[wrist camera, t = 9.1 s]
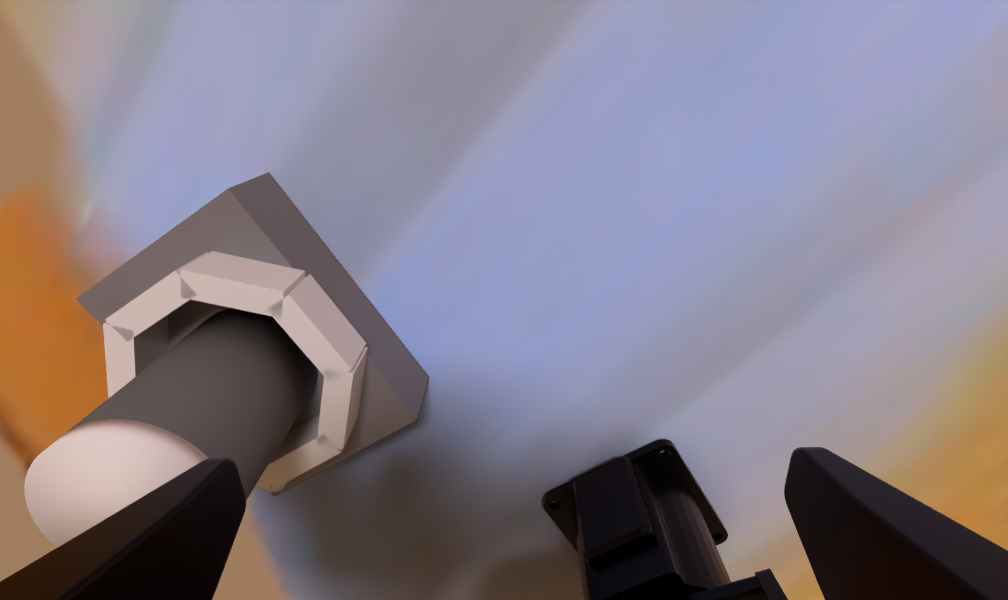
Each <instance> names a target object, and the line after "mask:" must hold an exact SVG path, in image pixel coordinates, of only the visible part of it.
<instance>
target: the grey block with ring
mask: <svg viewBox="0 0 1008 600" xmlns="http://www.w3.org/2000/svg"><path fill="white" fill-rule="evenodd" d="M76 300H77V301H78V302H79V303H80V304H81V305H83V306H84V307H85V308H86V309H87V310H88V311H89V312H90V313H91V314H92V315H93V316H94V317H95V318H96V319H97V320H98V321H99V322H100V323H101V324H102V325H103V330H104V343H105V357H106V370H107V384H108V398H110V397H111V396H112V395H114V394H115V393H116V392H117V391H119V390H120V389H121V388H122V387H124V386H125V385H126V384H127V383H129V382H130V381H131V380H132V379H133V378H135V377H136V376H137V375H138V374H140V373H141V372H142V371H143V370H145V369H146V368H147V367H148V366H150V365H151V364H152V363H153V362H154V361H156V360H157V359H158V358H159V357H161V356H162V355H163V354H164V353H166V352H167V351H168V350H169V349H171V348H172V347H173V346H174V345H176V344H177V343H178V342H179V341H180V340H182V339H183V338H184V337H185V336H187V335H188V334H189V333H190V332H192V331H193V330H194V329H195V328H197V327H198V326H199V325H200V324H201V323H203V322H204V321H205V320H206V319H208V318H209V317H210V316H212V315H214V314H215V313H217V312H220V311H222V310H226V309H230V308H234V309H239V310H244V311H249V312H253V313H258V314H263V315H268V316H272V317H273V318H274V319H275V320H276V321H277V322H278V324H279V325H280V326H281V327H282V328H283V329H284V330H285V332H286V333H287V334H288V335H289V336H290V337H291V339H292V340H293V341H294V342H295V343H296V344H297V345H298V347H299V348H300V349H301V350H302V351H303V352H304V354H305V355H306V356H307V357H308V358H309V359H310V360H311V362H312V363H313V364H314V365H315V366H316V367H317V368H318V377H317V382H316V385H315V388H314V390H313V392H312V394H311V396H310V397H309V399H308V401H307V402H306V404H305V406H304V407H303V409H302V410H301V412H300V414H299V415H298V417H297V419H296V420H295V422H294V423H293V425H292V427H291V428H290V430H289V432H288V433H287V435H286V436H285V438H284V440H283V441H282V443H281V445H280V446H279V448H278V449H277V451H276V453H275V454H274V456H273V458H272V459H271V461H270V462H269V464H268V466H267V467H266V469H265V471H264V472H263V474H262V475H261V477H260V479H259V480H258V482H257V484H256V485H255V487H259V488H261V489H263V490H265V491H269V492H271V493H272V494H273V495H274V496H276V495H278V494H280V493H282V492H283V491H285V490H287V489H289V488H291V487H293V486H295V485H296V484H298V483H300V482H302V481H304V480H306V479H308V478H309V477H311V476H313V475H315V474H317V473H319V472H321V471H323V470H324V469H326V468H328V467H330V466H332V465H334V464H336V463H337V462H339V461H341V460H343V459H345V458H347V457H349V456H350V455H352V454H354V453H356V452H358V451H360V450H362V449H363V448H365V447H367V446H369V445H371V444H373V443H375V442H377V441H378V440H380V439H382V438H384V437H386V436H388V435H390V434H391V433H393V432H395V431H397V430H399V429H401V428H403V427H404V426H406V425H408V424H410V423H412V422H414V421H416V420H417V419H418V415H419V412H420V408H421V405H422V401H423V397H424V394H425V390H426V387H427V383H428V380H429V376H428V375H427V374H426V372H425V371H424V370H423V369H422V367H421V366H420V365H419V363H418V362H417V361H416V360H415V358H414V357H413V356H412V355H411V353H410V352H409V351H408V349H407V348H406V347H405V346H404V344H403V343H402V342H401V340H400V339H399V338H398V337H397V335H396V334H395V333H394V332H393V330H392V329H391V328H390V326H389V325H388V324H387V323H386V321H385V320H384V319H383V317H382V316H381V315H380V314H379V312H378V311H377V310H376V309H375V307H374V306H373V305H372V303H371V302H370V301H369V300H368V298H367V297H366V296H365V294H364V293H363V292H362V291H361V289H360V288H359V287H358V286H357V284H356V283H355V282H354V280H353V279H352V278H351V277H350V275H349V274H348V273H347V271H346V270H345V269H344V268H343V266H342V265H341V264H340V263H339V261H338V260H337V259H336V257H335V256H334V255H333V254H332V252H331V251H330V250H329V248H328V247H327V246H326V245H325V243H324V242H323V241H322V240H321V238H320V237H319V236H318V234H317V233H316V232H315V231H314V229H313V228H312V227H311V225H310V224H309V223H308V222H307V220H306V219H305V218H304V217H303V215H302V214H301V213H300V211H299V210H298V209H297V208H296V206H295V205H294V204H293V202H292V201H291V200H290V199H289V197H288V196H287V195H286V194H285V192H284V191H283V190H282V188H281V187H280V186H279V185H278V183H277V182H276V181H275V179H274V178H273V177H272V176H271V174H270V173H269V172H268V173H266V174H264V175H261V176H259V177H256V178H254V179H251V180H249V181H246V182H244V183H241V184H239V185H236V186H234V187H231V188H229V189H227V190H225V191H224V192H223V193H221V194H220V195H219V196H217V197H216V198H214V199H213V200H212V201H210V202H209V203H208V204H206V205H205V206H203V207H202V208H201V209H199V210H198V211H196V212H195V213H194V214H192V215H191V216H190V217H188V218H187V219H185V220H184V221H183V222H181V223H180V224H179V225H177V226H176V227H174V228H173V229H172V230H170V231H169V232H168V233H166V234H165V235H163V236H162V237H161V238H159V239H158V240H156V241H155V242H154V243H152V244H151V245H150V246H148V247H147V248H145V249H144V250H143V251H141V252H140V253H139V254H137V255H136V256H134V257H133V258H132V259H130V260H129V261H127V262H126V263H125V264H123V265H122V266H121V267H119V268H118V269H116V270H115V271H114V272H112V273H111V274H110V275H108V276H107V277H105V278H104V279H103V280H101V281H100V282H98V283H97V284H96V285H94V286H93V287H92V288H90V289H89V290H87V291H86V292H85V293H83V294H82V295H81V296H79V297H78V298H76Z"/></svg>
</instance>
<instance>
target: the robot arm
mask: <svg viewBox="0 0 1008 600" xmlns="http://www.w3.org/2000/svg"><path fill="white" fill-rule="evenodd" d="M663 450H668V451H667V452H666V453H660V452H661V451H663ZM784 494H785V500H786V504H787V507H788V509H789V512H790V514H791V517H792V519H793V522H794V524H795V527H796V529H797V532H798V534H799V537H800V539H801V542H802V544H803V547H804V549H805V552H806V554H807V557H808V559H809V562H810V564H811V567H812V569H813V572H814V574H815V577H816V579H817V582H818V584H819V586H820V589H821V591H822V593H823V596H824V598H825V600H1008V551H1007V550H1006V549H1004V548H1002V547H1000V546H998V545H997V544H995V543H993V542H991V541H990V540H988V539H986V538H984V537H982V536H981V535H979V534H977V533H975V532H973V531H972V530H970V529H968V528H966V527H965V526H963V525H961V524H959V523H957V522H956V521H954V520H952V519H950V518H948V517H947V516H945V515H943V514H941V513H940V512H938V511H936V510H934V509H932V508H931V507H929V506H927V505H925V504H923V503H922V502H920V501H918V500H916V499H914V498H913V497H911V496H909V495H907V494H906V493H904V492H902V491H900V490H898V489H897V488H895V487H893V486H891V485H889V484H888V483H886V482H884V481H882V480H881V479H879V478H877V477H875V476H873V475H872V474H870V473H868V472H866V471H864V470H863V469H861V468H859V467H857V466H856V465H854V464H852V463H850V462H848V461H847V460H845V459H843V458H841V457H839V456H838V455H836V454H834V453H832V452H831V451H829V450H827V449H825V448H822V447H800V448H797V449H795V450H794V451H793V453H792V455H791V459H790V464H789V469H788V473H787V478H786V483H785V489H784ZM553 501H556V502H557V503H551V502H553ZM543 504H544V509H545V510H546V512H547V513H548V514H549V516H550V517H551V518H552V520H553V521H554V522H555V523H556V525H557V526H558V527H559V529H560V530H561V531H562V532H563V534H564V535H565V536H566V538H567V539H568V540H569V542H570V543H571V544H572V545H573V547H574V548H575V549H576V551H577V552H578V555H579V563H580V570H581V578H582V585H583V593H584V600H788V599H787V597H786V595H785V594H784V592H783V590H782V589H781V587H780V585H779V583H778V582H777V580H776V578H775V577H774V575H773V573H772V571H771V570H770V569H766V570H763V571H759V572H756V573H755V576H753V577H749V578H745V579H742V580H738V581H735V582H731V580H730V578H729V576H728V573H727V571H726V569H725V566H724V564H723V562H722V559H721V557H720V555H719V552H718V550H717V548H716V545H718V544H721V543H723V542H724V541H725V540H726V539H727V537H728V534H727V531H726V529H725V527H724V525H723V523H722V522H721V520H720V518H719V517H718V515H717V514H716V512H715V510H714V509H713V507H712V506H711V504H710V502H709V501H708V499H707V497H706V496H705V494H704V493H703V491H702V489H701V488H700V486H699V484H698V483H697V481H696V480H695V478H694V476H693V475H692V473H691V472H690V470H689V468H688V467H687V465H686V463H685V462H684V460H683V459H682V457H681V455H680V454H679V452H678V450H677V449H676V447H675V446H674V444H673V443H672V442H671V441H669V440H666V439H662V440H658V441H656V442H654V443H652V444H650V445H647V446H645V447H643V448H641V449H639V450H637V451H635V452H633V453H630V454H628V455H626V456H624V457H622V458H620V459H618V460H615V461H613V462H611V463H609V464H607V465H605V466H603V467H601V468H598V469H596V470H594V471H592V472H590V473H588V474H586V475H583V476H581V477H579V478H577V479H575V480H573V481H571V482H569V483H566V484H564V485H562V486H560V487H558V488H556V489H554V490H551V491H549V492H548V493H546V494H545V496H544V497H543ZM245 508H246V496H245V492H244V488H243V485H242V481H241V478H240V475H239V471H238V468H237V465H236V463H235V462H234V460H232V459H230V458H210V459H206V460H203V461H202V462H200V463H198V464H197V465H195V466H193V467H192V468H190V469H188V470H186V471H185V472H183V473H181V474H180V475H178V476H176V477H175V478H173V479H171V480H170V481H168V482H166V483H165V484H163V485H161V486H160V487H158V488H156V489H155V490H153V491H151V492H150V493H148V494H146V495H145V496H143V497H141V498H140V499H138V500H136V501H135V502H133V503H131V504H130V505H128V506H126V507H125V508H123V509H121V510H120V511H118V512H116V513H115V514H113V515H111V516H110V517H108V518H106V519H105V520H103V521H101V522H99V523H98V524H96V525H94V526H93V527H91V528H89V529H88V530H86V531H84V532H83V533H81V534H79V535H78V536H76V537H74V538H73V539H71V540H69V541H68V542H66V543H64V544H63V545H61V546H59V547H58V548H56V549H54V550H53V551H51V552H49V553H48V554H46V555H44V556H43V557H41V558H39V559H38V560H36V561H34V562H33V563H31V564H29V565H28V566H26V567H24V568H23V569H21V570H19V571H18V572H16V573H14V574H13V575H11V576H9V577H7V578H6V579H4V580H2V581H1V582H0V600H212V598H213V596H214V593H215V591H216V588H217V586H218V583H219V580H220V577H221V575H222V572H223V570H224V567H225V564H226V561H227V559H228V556H229V553H230V551H231V548H232V545H233V542H234V540H235V537H236V534H237V531H238V529H239V526H240V523H241V521H242V518H243V515H244V512H245ZM716 532H717V533H716ZM714 533H715V534H714Z"/></svg>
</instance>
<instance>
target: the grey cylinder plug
mask: <svg viewBox="0 0 1008 600" xmlns="http://www.w3.org/2000/svg"><path fill="white" fill-rule="evenodd" d="M317 377H318V368H317V367H316V366H315V365H314V364H313V363H312V362H311V360H310V359H309V358H308V357H307V356H306V355H305V354H304V352H303V351H302V350H301V349H300V348H299V347H298V345H297V344H296V343H295V342H294V341H293V340H292V339H291V337H290V336H289V335H288V334H287V333H286V332H285V330H284V329H283V328H282V327H281V326H280V325H279V324H278V322H277V321H276V320H275V319H274V318H273V317H272V316H268V315H263V314H258V313H253V312H249V311H244V310H239V309H234V308H230V309H226V310H222V311H220V312H217V313H215V314H214V315H212V316H210V317H209V318H208V319H206V320H205V321H204V322H203V323H201V324H200V325H199V326H198V327H197V328H195V329H194V330H193V331H192V332H190V333H189V334H188V335H187V336H185V337H184V338H183V339H182V340H180V341H179V342H178V343H177V344H176V345H174V346H173V347H172V348H171V349H169V350H168V351H167V352H166V353H164V354H163V355H162V356H161V357H159V358H158V359H157V360H156V361H154V362H153V363H152V364H151V365H150V366H148V367H147V368H146V369H145V370H143V371H142V372H141V373H140V374H138V375H137V376H136V377H135V378H133V379H132V380H131V381H130V382H129V383H127V384H126V385H125V386H124V387H122V388H121V389H120V390H119V391H117V392H116V393H115V394H114V395H112V396H111V397H110V398H109V399H107V400H106V401H105V402H104V403H103V404H101V405H100V406H99V407H98V408H96V409H95V410H94V411H93V412H91V413H90V414H89V415H88V416H86V417H85V418H84V419H83V420H82V421H80V422H79V423H78V424H77V425H75V426H74V427H73V428H72V429H70V430H69V431H68V432H67V433H65V434H64V435H63V436H62V437H60V438H59V439H58V440H57V441H56V442H54V443H53V444H52V445H51V446H49V447H48V448H47V449H46V450H44V451H43V452H42V453H41V454H39V456H38V457H37V458H36V459H35V460H34V461H33V463H32V464H31V466H30V468H29V470H28V472H27V476H26V479H25V487H24V489H25V499H26V503H27V507H28V510H29V512H30V515H31V517H32V519H33V520H34V522H35V524H36V525H37V527H38V528H39V529H40V531H41V532H42V533H43V535H44V536H45V537H46V538H47V539H48V540H49V541H50V542H51V543H52V544H53V545H54V546H55V547H57V548H58V547H59V546H61V545H63V544H64V543H66V542H68V541H69V540H71V539H73V538H74V537H76V536H78V535H79V534H81V533H83V532H84V531H86V530H88V529H89V528H91V527H93V526H94V525H96V524H98V523H99V522H101V521H103V520H105V519H106V518H108V517H110V516H111V515H113V514H115V513H116V512H118V511H120V510H121V509H123V508H125V507H126V506H128V505H130V504H131V503H133V502H135V501H136V500H138V499H140V498H141V497H143V496H145V495H146V494H148V493H150V492H151V491H153V490H155V489H156V488H158V487H160V486H161V485H163V484H165V483H166V482H168V481H170V480H171V479H173V478H175V477H176V476H178V475H180V474H181V473H183V472H185V471H186V470H188V469H190V468H192V467H193V466H195V465H197V464H198V463H200V462H202V461H203V460H206V459H210V458H230V459H232V460H234V462H235V463H236V465H237V468H238V471H239V475H240V478H241V481H242V485H243V488H244V492H245V496H246V500H247V498H248V497H249V495H250V493H251V492H252V490H253V488H254V487H255V485H256V484H257V482H258V480H259V479H260V477H261V475H262V474H263V472H264V471H265V469H266V467H267V466H268V464H269V462H270V461H271V459H272V458H273V456H274V454H275V453H276V451H277V449H278V448H279V446H280V445H281V443H282V441H283V440H284V438H285V436H286V435H287V433H288V432H289V430H290V428H291V427H292V425H293V423H294V422H295V420H296V419H297V417H298V415H299V414H300V412H301V410H302V409H303V407H304V406H305V404H306V402H307V401H308V399H309V397H310V396H311V394H312V392H313V390H314V388H315V385H316V382H317Z"/></svg>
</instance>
